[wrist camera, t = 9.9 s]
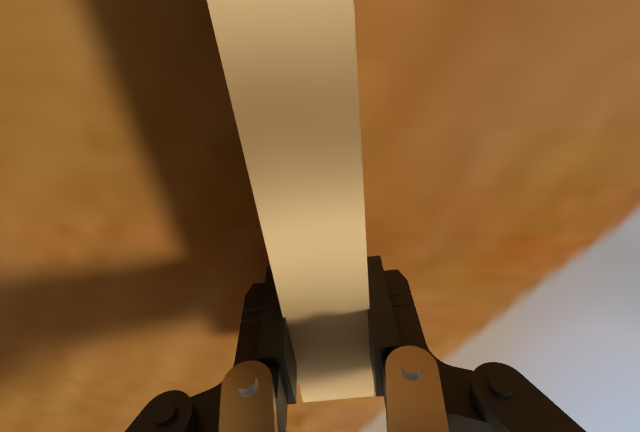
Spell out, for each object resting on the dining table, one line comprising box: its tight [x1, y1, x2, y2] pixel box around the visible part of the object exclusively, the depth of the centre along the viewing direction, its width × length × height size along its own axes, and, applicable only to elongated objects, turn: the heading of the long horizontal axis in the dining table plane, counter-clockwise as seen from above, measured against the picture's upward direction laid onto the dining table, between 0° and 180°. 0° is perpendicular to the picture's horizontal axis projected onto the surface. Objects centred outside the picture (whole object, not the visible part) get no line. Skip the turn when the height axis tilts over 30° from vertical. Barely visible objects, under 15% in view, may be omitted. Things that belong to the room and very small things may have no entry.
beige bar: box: [207, 0, 374, 402], centre depth 9 cm, size 21×7×4 cm, turn 6°
